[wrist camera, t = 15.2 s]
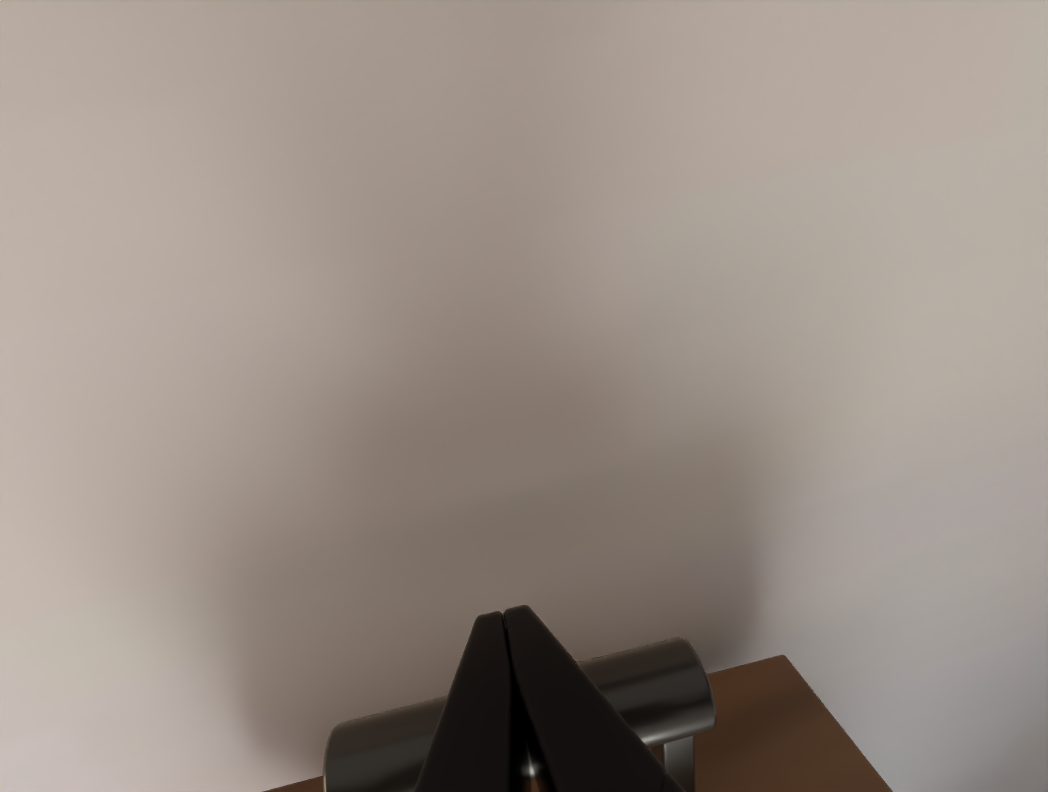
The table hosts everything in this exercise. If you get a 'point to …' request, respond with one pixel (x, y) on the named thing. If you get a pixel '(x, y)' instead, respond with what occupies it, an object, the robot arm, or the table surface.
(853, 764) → the drawer
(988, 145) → the table surface
